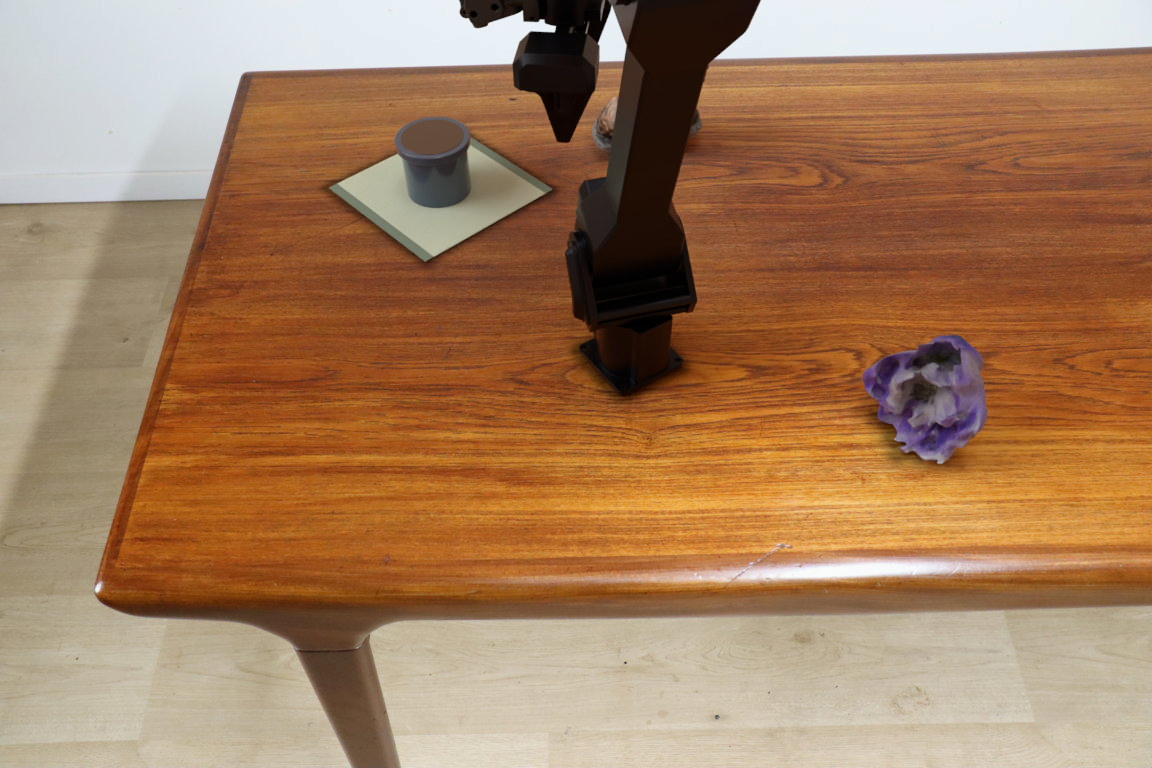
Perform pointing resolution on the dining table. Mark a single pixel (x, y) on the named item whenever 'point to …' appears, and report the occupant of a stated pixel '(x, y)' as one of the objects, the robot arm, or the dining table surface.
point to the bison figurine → (606, 121)
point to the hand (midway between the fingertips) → (570, 111)
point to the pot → (435, 161)
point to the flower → (931, 396)
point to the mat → (442, 228)
